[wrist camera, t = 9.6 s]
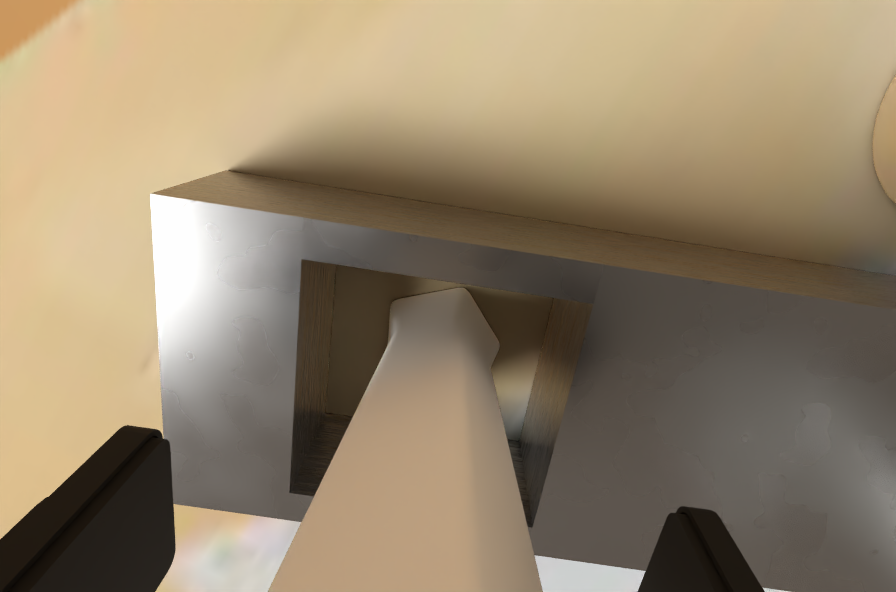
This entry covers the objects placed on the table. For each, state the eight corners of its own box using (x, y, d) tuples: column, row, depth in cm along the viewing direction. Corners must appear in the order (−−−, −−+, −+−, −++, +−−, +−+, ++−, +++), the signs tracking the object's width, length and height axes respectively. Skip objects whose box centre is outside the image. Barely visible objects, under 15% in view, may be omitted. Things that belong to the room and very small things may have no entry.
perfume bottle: (500, 406, 18) (618, 1445, 4) (375, 393, 18) (69, 1397, 4) (521, 283, 17) (826, 1314, 3) (383, 268, 16) (-79, 1228, 2)
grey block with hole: (937, 282, 16) (1081, 338, 12) (819, 508, 19) (904, 607, 16) (225, 170, 16) (149, 193, 12) (226, 422, 19) (167, 503, 15)
